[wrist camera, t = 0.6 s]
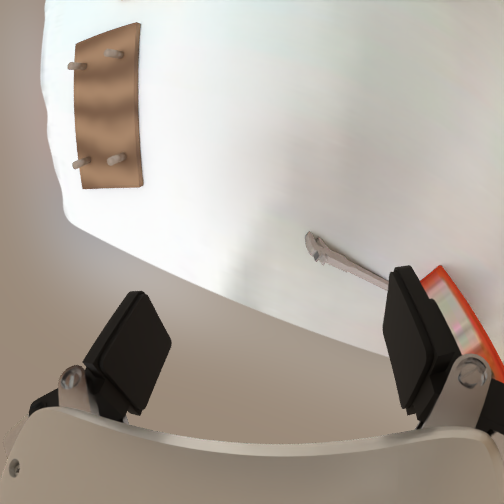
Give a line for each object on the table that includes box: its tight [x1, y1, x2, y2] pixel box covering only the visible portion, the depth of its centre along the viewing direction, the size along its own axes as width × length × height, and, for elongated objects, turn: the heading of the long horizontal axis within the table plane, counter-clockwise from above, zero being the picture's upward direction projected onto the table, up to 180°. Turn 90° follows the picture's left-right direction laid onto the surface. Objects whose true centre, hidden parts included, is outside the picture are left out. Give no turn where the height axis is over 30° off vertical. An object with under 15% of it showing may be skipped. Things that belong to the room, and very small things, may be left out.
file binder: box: [420, 265, 504, 383], centre depth 29 cm, size 8×17×32 cm, turn 48°
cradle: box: [68, 22, 143, 189], centre depth 31 cm, size 26×12×5 cm, turn 179°
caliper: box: [305, 232, 389, 291], centre depth 39 cm, size 20×1×6 cm, turn 61°
